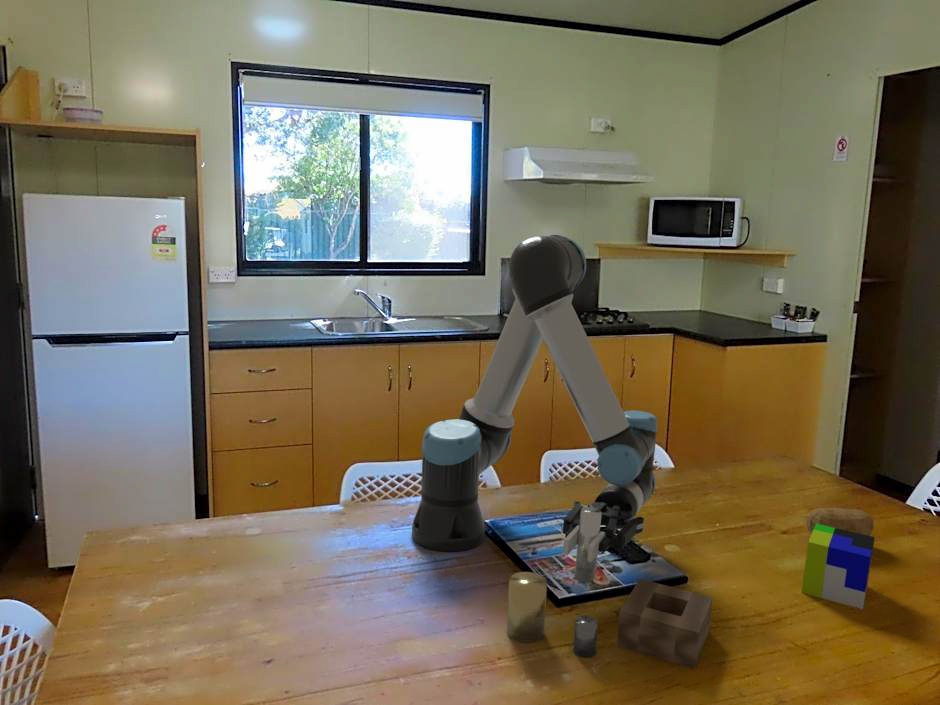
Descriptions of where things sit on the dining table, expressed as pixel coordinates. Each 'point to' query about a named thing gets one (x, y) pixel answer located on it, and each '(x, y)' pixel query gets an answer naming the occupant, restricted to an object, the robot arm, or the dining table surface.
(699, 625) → the walnut block
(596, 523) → the steel roller
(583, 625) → the short dark roller
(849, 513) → the potato
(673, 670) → the dining table surface
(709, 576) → the dining table surface
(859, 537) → the puzzle toy
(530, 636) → the fat brass roller
